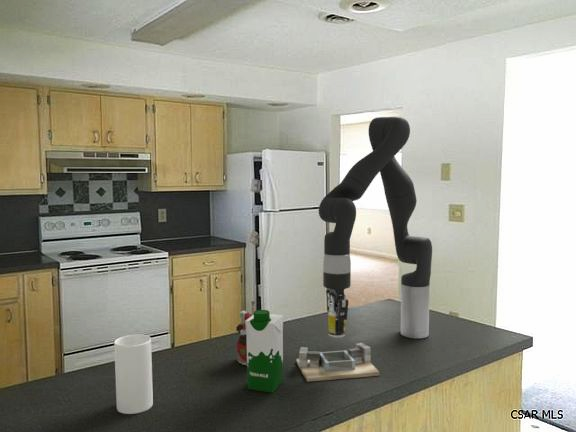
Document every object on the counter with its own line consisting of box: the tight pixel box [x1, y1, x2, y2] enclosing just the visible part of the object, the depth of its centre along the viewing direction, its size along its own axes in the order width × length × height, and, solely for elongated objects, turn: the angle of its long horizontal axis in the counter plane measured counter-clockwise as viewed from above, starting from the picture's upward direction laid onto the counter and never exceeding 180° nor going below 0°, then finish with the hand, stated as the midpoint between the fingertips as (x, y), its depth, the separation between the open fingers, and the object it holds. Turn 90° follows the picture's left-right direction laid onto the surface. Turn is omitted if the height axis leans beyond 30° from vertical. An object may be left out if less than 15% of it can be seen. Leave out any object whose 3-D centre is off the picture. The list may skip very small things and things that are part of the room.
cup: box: [113, 334, 154, 415], centre depth 118 cm, size 8×8×16 cm
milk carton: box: [244, 309, 284, 394], centre depth 129 cm, size 9×9×20 cm
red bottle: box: [235, 300, 256, 366], centre depth 146 cm, size 11×9×18 cm
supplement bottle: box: [327, 304, 346, 338], centre depth 139 cm, size 5×5×8 cm
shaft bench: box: [295, 342, 380, 382], centre depth 140 cm, size 14×21×5 cm
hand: (336, 330), depth 140 cm, fingers closed on supplement bottle, 4 cm apart
